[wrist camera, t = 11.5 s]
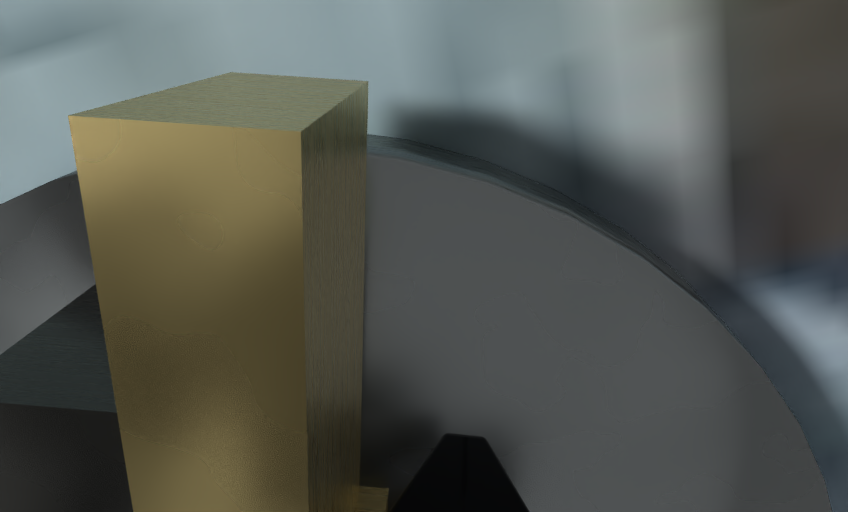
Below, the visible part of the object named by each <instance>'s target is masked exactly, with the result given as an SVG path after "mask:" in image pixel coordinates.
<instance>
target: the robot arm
mask: <svg viewBox="0 0 848 512" xmlns="http://www.w3.org/2000/svg"><path fill="white" fill-rule="evenodd" d="M389 512H530V511H529V510H528V508H527V506H526V505H525V503H524V501H523V500H522V498H521V496H520V494H519V493H518V491H517V489H516V488H515V486H514V484H513V483H512V481H511V479H510V478H509V476H508V474H507V473H506V471H505V469H504V467H503V466H502V464H501V462H500V461H499V459H498V457H497V456H496V454H495V452H494V451H493V449H492V447H491V446H490V444H489V442H488V441H487V439H486V438H485V437H483V436H476V435H466V434H456V433H445V434H444V435H443V436H442V437H441V438H440V440H439V441H438V443H437V444H436V445H435V447H434V448H433V450H432V451H431V453H430V454H429V455H428V457H427V458H426V460H425V461H424V462H423V464H422V465H421V467H420V468H419V469H418V471H417V472H416V474H415V475H414V477H413V478H412V479H411V481H410V482H409V484H408V485H407V486H406V488H405V489H404V491H403V492H402V494H401V495H400V496H399V498H398V499H397V501H396V502H395V503H394V505H393V506H392V508H391V509H390V510H389Z"/></svg>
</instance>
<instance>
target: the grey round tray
mask: <svg viewBox="0 0 848 512" xmlns="http://www.w3.org/2000/svg"><path fill="white" fill-rule="evenodd" d="M445 433H456V434H466V435H476V436H483V437H485V438H486V439H487V441H488V442H489V444H490V446H491V447H492V449H493V451H494V452H495V454H496V456H497V457H498V459H499V461H500V462H501V464H502V466H503V467H504V469H505V471H506V473H507V474H508V476H509V478H510V479H511V481H512V483H513V484H514V486H515V488H516V489H517V491H518V493H519V494H520V496H521V498H522V500H523V501H524V503H525V505H526V506H527V508H528V510H529V511H530V512H832V509H831V505H830V501H829V497H828V492H827V488H826V484H825V480H824V478H823V476H822V474H821V471H820V469H819V467H818V465H817V462H816V460H815V458H814V456H813V453H812V451H811V449H810V447H809V444H808V442H807V440H806V438H805V435H804V433H803V431H802V428H801V426H800V424H799V423H798V421H797V420H796V418H795V417H794V415H793V414H792V412H791V411H790V409H789V408H788V406H787V405H786V403H785V402H784V400H783V399H782V397H781V396H780V394H779V393H778V391H777V390H776V388H775V387H774V385H773V384H772V382H771V381H770V379H769V378H768V376H767V375H766V373H765V372H764V371H763V369H762V368H761V366H760V365H759V364H758V363H757V362H756V360H755V359H754V358H753V357H752V356H751V354H750V353H749V352H748V351H747V350H746V348H745V347H744V346H743V345H742V344H741V342H740V341H739V340H738V339H737V338H736V336H735V335H734V334H733V333H732V332H731V330H730V329H729V328H728V327H727V326H726V324H725V323H724V322H723V321H722V320H721V319H720V318H719V317H718V316H717V314H716V313H715V312H714V311H713V310H712V309H711V308H710V307H709V306H708V305H707V304H706V303H705V302H704V301H703V300H702V298H701V297H700V296H699V295H698V294H697V293H696V292H695V291H694V290H693V289H692V288H691V287H690V286H689V285H688V284H687V282H686V281H685V280H684V279H683V278H682V277H681V276H680V275H679V274H678V273H677V272H676V271H675V270H673V269H672V268H671V267H669V266H668V265H667V264H666V263H664V262H663V261H662V260H661V259H659V258H658V257H657V256H656V255H654V254H653V253H652V252H651V251H649V250H648V249H647V248H645V247H644V246H643V245H642V244H640V243H639V242H638V241H637V240H635V239H634V238H633V237H632V236H630V235H629V234H628V233H627V232H625V231H624V230H623V229H621V228H620V227H618V226H616V225H615V224H613V223H611V222H609V221H608V220H606V219H604V218H603V217H601V216H599V215H597V214H596V213H594V212H592V211H591V210H589V209H587V208H586V207H584V206H582V205H580V204H579V203H577V202H575V201H574V200H572V199H570V198H568V197H567V196H565V195H563V194H562V193H560V192H558V191H556V190H554V189H552V188H549V187H547V186H544V185H542V184H540V183H537V182H535V181H532V180H530V179H528V178H525V177H523V176H520V175H518V174H516V173H513V172H511V171H508V170H506V169H504V168H501V167H499V166H496V165H494V164H492V163H489V162H487V161H484V160H481V159H477V158H473V157H470V156H466V155H462V154H458V153H455V152H451V151H447V150H444V149H440V148H436V147H433V146H429V145H425V144H421V143H418V142H414V141H410V140H406V139H398V138H391V137H384V136H376V135H369V134H367V167H366V214H365V261H364V309H363V356H362V403H361V450H360V486H367V487H379V488H389V495H388V512H389V510H390V509H391V508H392V506H393V505H394V503H395V502H396V501H397V499H398V498H399V496H400V495H401V494H402V492H403V491H404V489H405V488H406V486H407V485H408V484H409V482H410V481H411V479H412V478H413V477H414V475H415V474H416V472H417V471H418V469H419V468H420V467H421V465H422V464H423V462H424V461H425V460H426V458H427V457H428V455H429V454H430V453H431V451H432V450H433V448H434V447H435V445H436V444H437V443H438V441H439V440H440V438H441V437H442V436H443V435H444V434H445ZM0 512H133V507H132V500H131V494H130V488H129V482H128V476H127V470H126V464H125V458H124V452H123V446H122V440H121V434H120V428H119V422H118V415H117V409H116V403H115V397H114V391H113V385H112V379H111V373H110V367H109V361H108V355H107V349H106V343H105V336H104V330H103V324H102V318H101V312H100V306H99V300H98V294H97V288H96V282H95V276H94V270H93V264H92V257H91V251H90V245H89V239H88V233H87V227H86V221H85V215H84V209H83V203H82V197H81V191H80V185H79V178H78V172H77V171H75V172H72V173H70V174H67V175H65V176H62V177H60V178H58V179H55V180H53V181H50V182H48V183H46V184H44V185H42V186H39V187H37V188H35V189H33V190H31V191H29V192H26V193H24V194H22V195H20V196H18V197H16V198H13V199H11V200H9V201H7V202H5V203H2V204H0Z"/></svg>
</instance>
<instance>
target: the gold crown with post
mask: <svg viewBox="0 0 848 512" xmlns="http://www.w3.org/2000/svg"><path fill="white" fill-rule="evenodd" d="M68 118H69V124H70V130H71V136H72V142H73V148H74V154H75V160H76V166H77V172H78V178H79V185H80V191H81V197H82V203H83V209H84V215H85V221H86V227H87V233H88V239H89V245H90V251H91V257H92V264H93V270H94V276H95V282H96V288H97V294H98V300H99V306H100V312H101V318H102V324H103V330H104V336H105V343H106V349H107V355H108V361H109V367H110V373H111V379H112V385H113V391H114V397H115V403H116V409H117V415H118V422H119V428H120V434H121V440H122V446H123V452H124V458H125V464H126V470H127V476H128V482H129V488H130V494H131V500H132V507H133V512H388V495H389V488H379V487H367V486H360V450H361V403H362V356H363V309H364V261H365V214H366V167H367V119H368V81H355V80H340V79H325V78H310V77H294V76H279V75H264V74H249V73H234V72H230V73H226V74H223V75H219V76H215V77H211V78H208V79H204V80H200V81H196V82H193V83H189V84H185V85H181V86H178V87H174V88H170V89H166V90H163V91H159V92H155V93H151V94H147V95H144V96H140V97H136V98H132V99H129V100H125V101H121V102H117V103H114V104H110V105H106V106H102V107H99V108H95V109H91V110H87V111H84V112H80V113H76V114H72V115H69V116H68Z"/></svg>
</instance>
